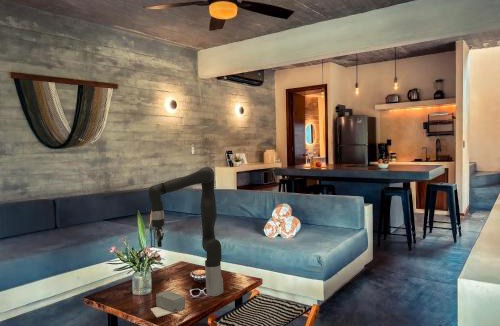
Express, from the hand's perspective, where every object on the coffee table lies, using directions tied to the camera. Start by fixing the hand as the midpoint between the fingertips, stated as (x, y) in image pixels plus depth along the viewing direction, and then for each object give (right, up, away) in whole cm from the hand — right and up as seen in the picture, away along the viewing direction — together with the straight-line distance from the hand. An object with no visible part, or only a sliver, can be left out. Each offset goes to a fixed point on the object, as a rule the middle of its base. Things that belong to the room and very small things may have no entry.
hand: (159, 246), depth 228 cm
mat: (+9, -30, -21) cm, 37 cm away
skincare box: (+4, -26, -13) cm, 30 cm away
